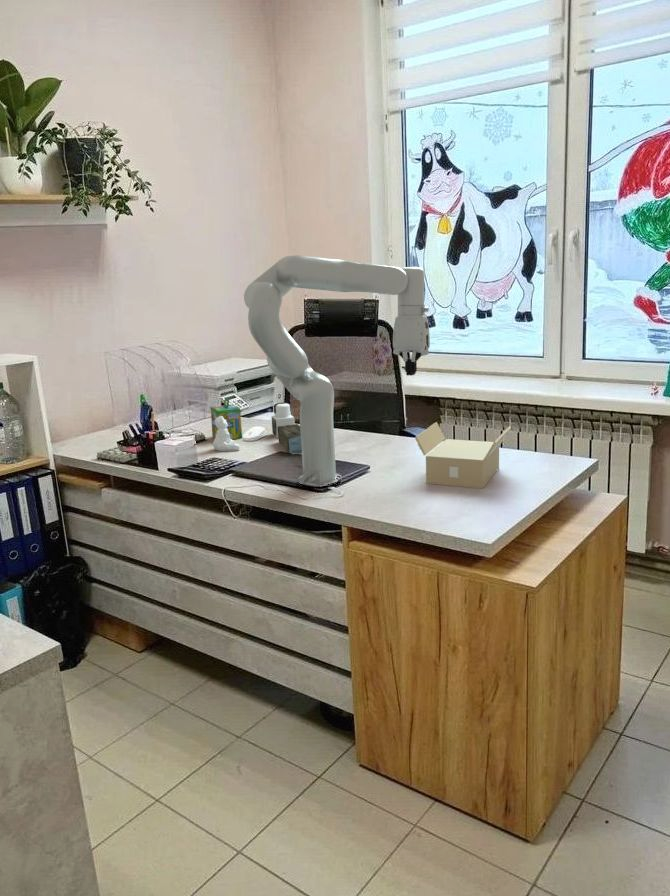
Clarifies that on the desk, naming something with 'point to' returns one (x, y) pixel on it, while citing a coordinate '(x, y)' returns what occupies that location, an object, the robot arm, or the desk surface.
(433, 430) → the left flap
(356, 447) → the desk surface
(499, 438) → the right flap
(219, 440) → the white creature statuette
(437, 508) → the desk surface
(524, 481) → the desk surface
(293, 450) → the beverage carton
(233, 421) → the chalk box
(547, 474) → the desk surface
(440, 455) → the carton
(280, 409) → the medicine bottle
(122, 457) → the mechanical keyboard
